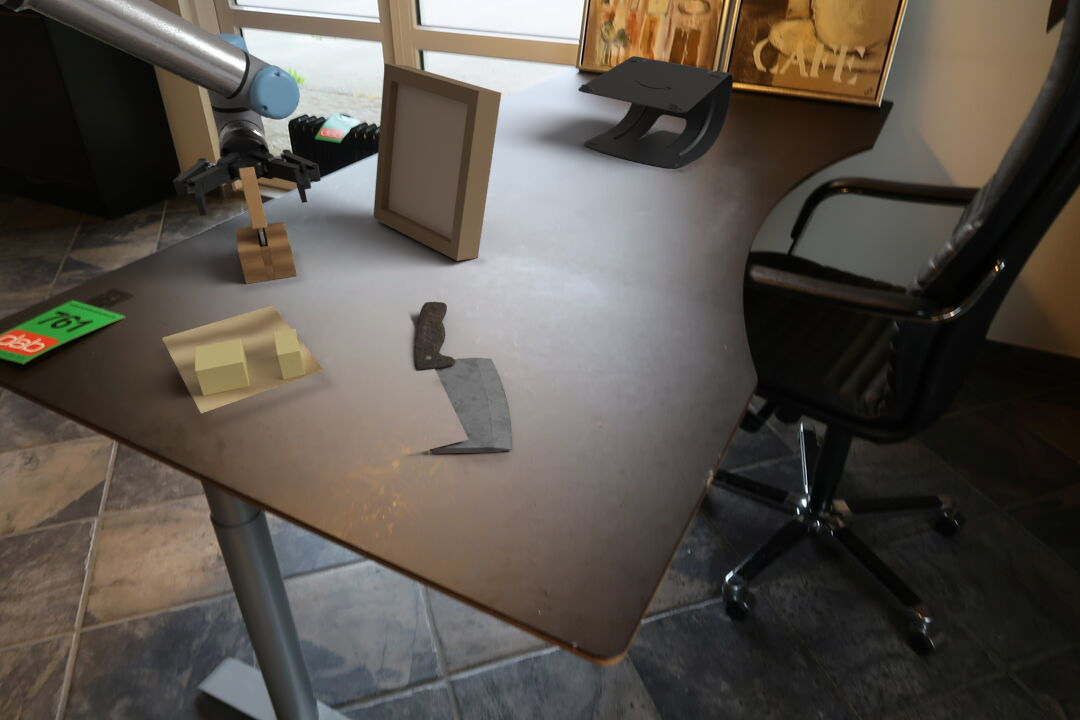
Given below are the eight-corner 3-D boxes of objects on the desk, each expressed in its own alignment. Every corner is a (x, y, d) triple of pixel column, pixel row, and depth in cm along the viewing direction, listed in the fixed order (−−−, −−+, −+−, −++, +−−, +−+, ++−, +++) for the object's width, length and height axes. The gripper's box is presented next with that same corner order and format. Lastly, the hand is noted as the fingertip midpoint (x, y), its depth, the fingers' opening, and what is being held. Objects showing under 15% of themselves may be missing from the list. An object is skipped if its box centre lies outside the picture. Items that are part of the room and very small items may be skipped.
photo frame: (457, 266, 108) (447, 98, 93) (373, 223, 120) (353, 69, 105) (525, 237, 117) (526, 79, 102) (441, 199, 129) (431, 54, 114)
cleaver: (406, 315, 96) (405, 302, 94) (477, 307, 98) (477, 294, 96) (429, 465, 73) (427, 450, 71) (521, 451, 74) (521, 436, 73)
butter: (202, 371, 82) (194, 346, 80) (247, 362, 84) (240, 338, 82) (203, 396, 79) (194, 371, 77) (250, 386, 80) (243, 361, 78)
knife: (260, 259, 109) (238, 164, 100) (274, 257, 109) (253, 163, 101) (264, 276, 104) (240, 179, 95) (278, 274, 105) (256, 177, 96)
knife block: (242, 258, 109) (235, 228, 106) (290, 250, 111) (284, 221, 108) (246, 284, 102) (238, 253, 99) (296, 275, 104) (290, 245, 102)
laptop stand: (727, 144, 157) (740, 71, 148) (675, 173, 142) (686, 94, 133) (630, 121, 169) (636, 53, 161) (572, 146, 154) (576, 72, 145)
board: (164, 347, 89) (161, 337, 88) (274, 314, 96) (272, 305, 95) (204, 423, 77) (200, 413, 76) (326, 379, 84) (324, 369, 83)
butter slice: (278, 356, 85) (273, 332, 83) (300, 352, 86) (295, 328, 84) (283, 379, 81) (277, 355, 79) (305, 375, 82) (300, 350, 80)
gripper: (326, 165, 121) (346, 212, 105) (167, 183, 113) (163, 237, 97) (319, 120, 116) (339, 163, 100) (153, 136, 108) (146, 185, 92)
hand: (252, 199), depth 98 cm, fingers open, 13 cm apart
